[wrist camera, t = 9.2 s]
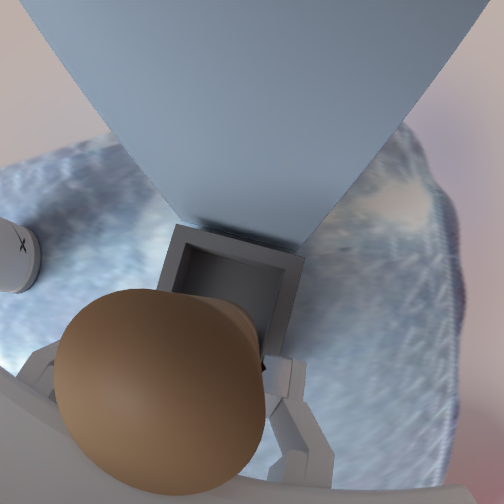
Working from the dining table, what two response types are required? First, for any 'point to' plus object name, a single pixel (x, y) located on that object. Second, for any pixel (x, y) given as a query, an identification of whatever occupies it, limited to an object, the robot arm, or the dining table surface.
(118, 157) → the dining table surface
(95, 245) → the dining table surface
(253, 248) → the socket
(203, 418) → the peg
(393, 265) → the dining table surface
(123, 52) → the awning
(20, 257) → the travel mug
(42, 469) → the robot arm
